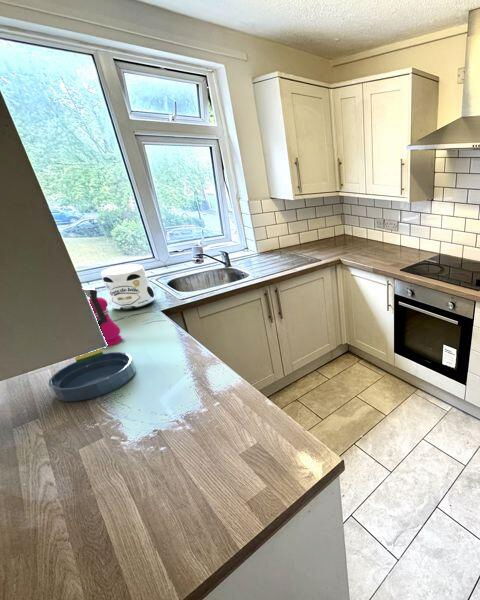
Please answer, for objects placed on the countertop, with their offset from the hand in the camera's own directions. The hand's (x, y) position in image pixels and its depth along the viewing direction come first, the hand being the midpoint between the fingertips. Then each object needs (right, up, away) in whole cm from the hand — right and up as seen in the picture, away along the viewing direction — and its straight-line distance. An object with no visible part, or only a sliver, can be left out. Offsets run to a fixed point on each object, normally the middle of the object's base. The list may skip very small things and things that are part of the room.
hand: (86, 351), depth 91 cm
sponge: (0, -1, 0) cm, 1 cm away
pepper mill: (-23, -2, +34) cm, 41 cm away
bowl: (-8, -12, +12) cm, 18 cm away
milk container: (-39, +12, +65) cm, 77 cm away
